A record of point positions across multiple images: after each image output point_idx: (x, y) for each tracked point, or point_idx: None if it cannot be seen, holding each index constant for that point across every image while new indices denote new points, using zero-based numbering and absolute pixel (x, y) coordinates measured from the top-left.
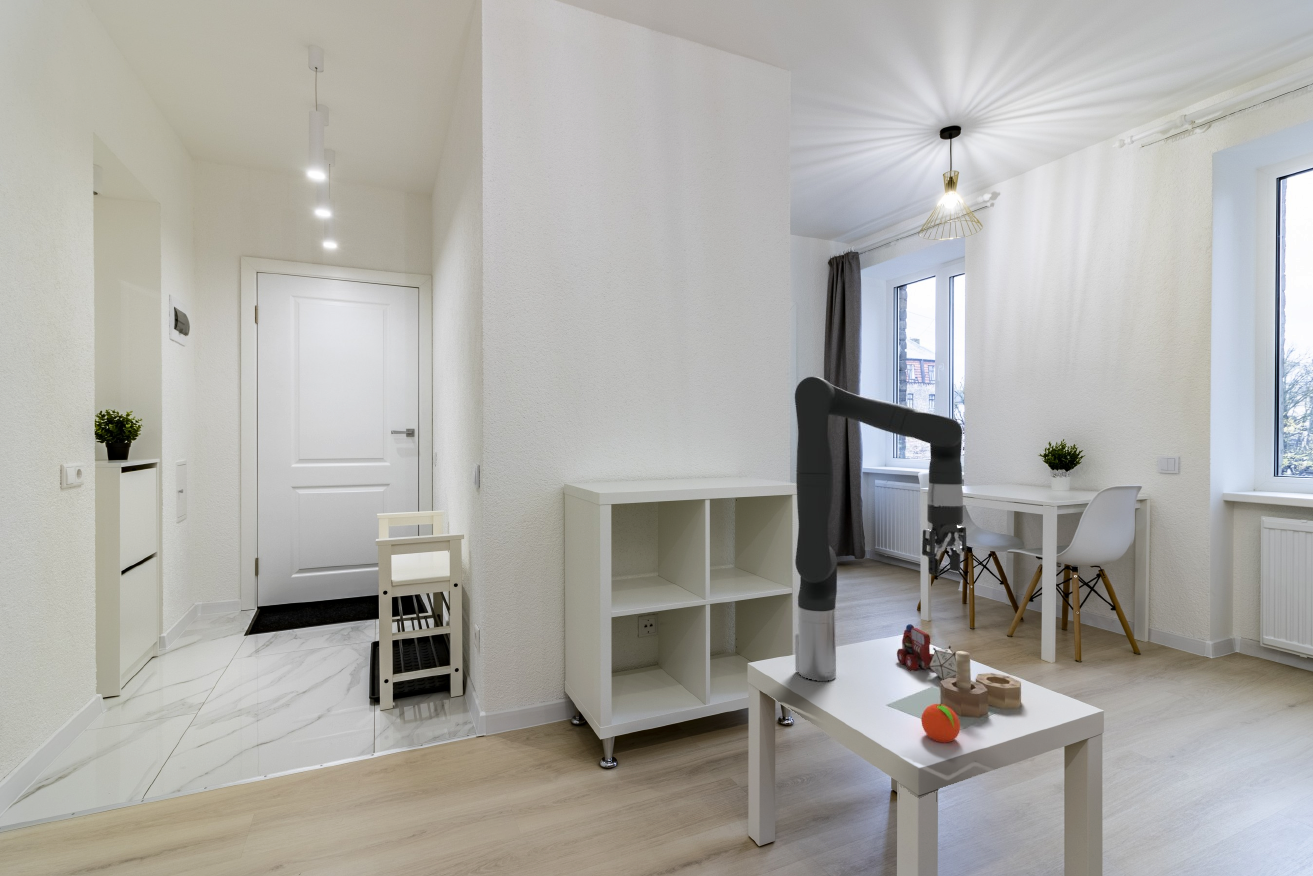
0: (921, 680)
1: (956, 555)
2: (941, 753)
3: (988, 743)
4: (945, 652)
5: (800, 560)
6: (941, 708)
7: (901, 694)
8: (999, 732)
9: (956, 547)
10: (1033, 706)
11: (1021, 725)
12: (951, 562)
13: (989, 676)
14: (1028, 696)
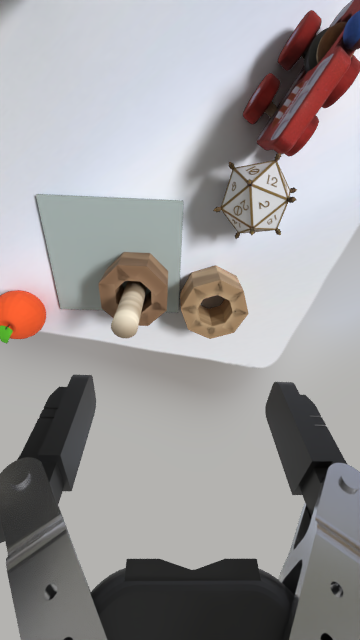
0: (212, 158)
1: (296, 487)
2: None
3: (79, 335)
4: (251, 209)
5: None
6: (1, 332)
7: (112, 175)
8: None
9: (284, 570)
10: None
11: (160, 338)
12: (287, 419)
13: (223, 296)
14: (268, 309)
